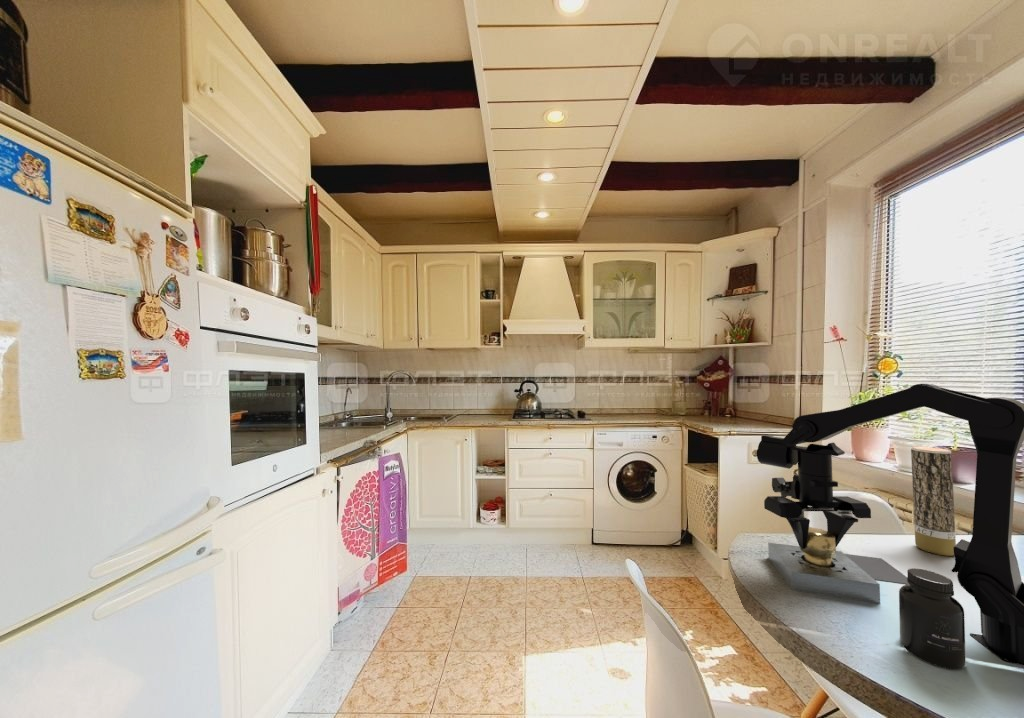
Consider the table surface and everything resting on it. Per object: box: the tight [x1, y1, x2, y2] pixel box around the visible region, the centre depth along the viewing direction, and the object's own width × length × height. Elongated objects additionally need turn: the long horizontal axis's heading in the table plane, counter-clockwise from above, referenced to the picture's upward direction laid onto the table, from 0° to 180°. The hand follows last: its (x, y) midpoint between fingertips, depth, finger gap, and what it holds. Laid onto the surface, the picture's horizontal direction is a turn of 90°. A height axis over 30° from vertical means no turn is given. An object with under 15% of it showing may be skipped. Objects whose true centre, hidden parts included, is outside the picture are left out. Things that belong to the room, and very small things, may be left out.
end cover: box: [798, 526, 837, 568], centre depth 80 cm, size 6×6×8 cm
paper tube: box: [910, 446, 957, 557], centre depth 94 cm, size 7×7×25 cm
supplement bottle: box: [898, 567, 966, 671], centre depth 59 cm, size 7×7×12 cm
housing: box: [767, 542, 881, 605], centre depth 80 cm, size 14×14×4 cm
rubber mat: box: [844, 553, 909, 585], centre depth 84 cm, size 12×10×1 cm
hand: (817, 547), depth 80 cm, fingers closed on end cover, 6 cm apart
